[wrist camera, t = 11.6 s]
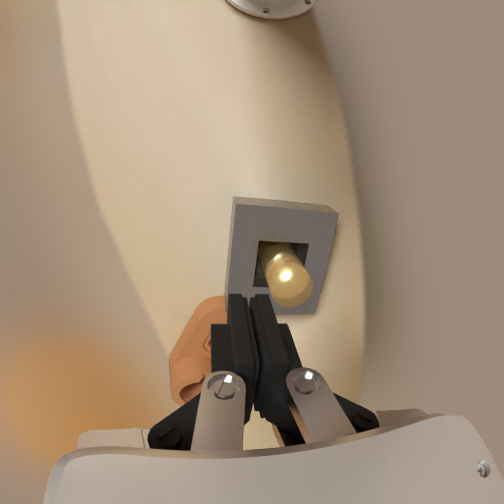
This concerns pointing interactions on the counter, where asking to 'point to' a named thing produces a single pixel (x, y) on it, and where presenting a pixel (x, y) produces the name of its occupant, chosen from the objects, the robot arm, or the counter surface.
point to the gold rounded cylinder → (284, 274)
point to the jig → (279, 230)
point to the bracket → (195, 350)
